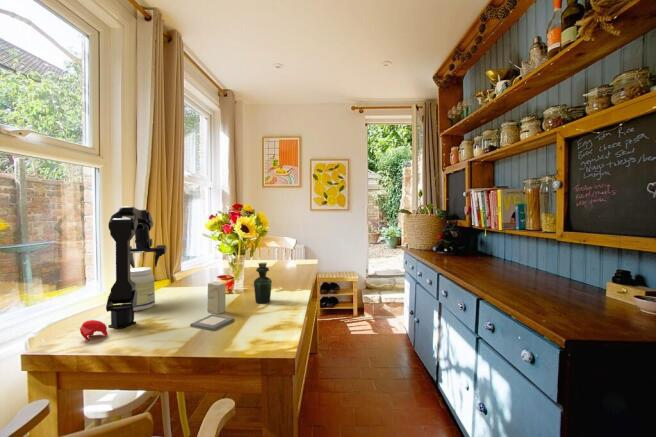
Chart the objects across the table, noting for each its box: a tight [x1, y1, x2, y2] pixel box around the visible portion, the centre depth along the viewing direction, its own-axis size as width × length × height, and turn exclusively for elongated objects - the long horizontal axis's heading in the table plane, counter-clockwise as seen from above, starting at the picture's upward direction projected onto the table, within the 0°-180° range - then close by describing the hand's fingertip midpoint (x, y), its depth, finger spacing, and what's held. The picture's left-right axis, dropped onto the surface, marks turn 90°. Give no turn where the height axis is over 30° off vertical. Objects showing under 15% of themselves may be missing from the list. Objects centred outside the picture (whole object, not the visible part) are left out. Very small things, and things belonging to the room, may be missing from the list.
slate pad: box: [189, 313, 235, 332], centre depth 118 cm, size 11×11×1 cm
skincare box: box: [207, 281, 227, 315], centre depth 131 cm, size 6×4×12 cm
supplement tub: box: [123, 266, 156, 312], centre depth 137 cm, size 12×12×17 cm
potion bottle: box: [253, 262, 273, 305], centre depth 144 cm, size 8×8×18 cm
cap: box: [79, 319, 109, 342], centre depth 105 cm, size 8×6×6 cm
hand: (145, 267), depth 149 cm, fingers open, 9 cm apart
